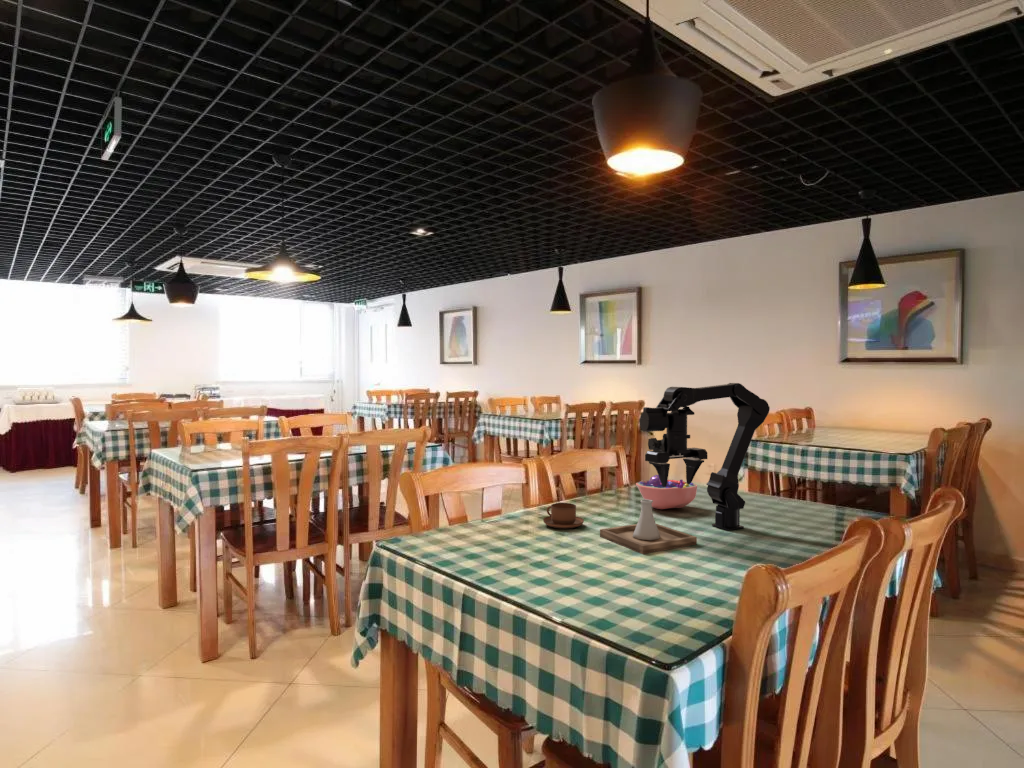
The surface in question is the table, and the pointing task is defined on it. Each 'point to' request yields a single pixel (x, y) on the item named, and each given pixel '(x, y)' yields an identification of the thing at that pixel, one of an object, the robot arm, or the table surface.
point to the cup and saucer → (563, 516)
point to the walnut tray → (665, 542)
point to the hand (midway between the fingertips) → (676, 485)
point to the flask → (646, 523)
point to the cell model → (667, 492)
